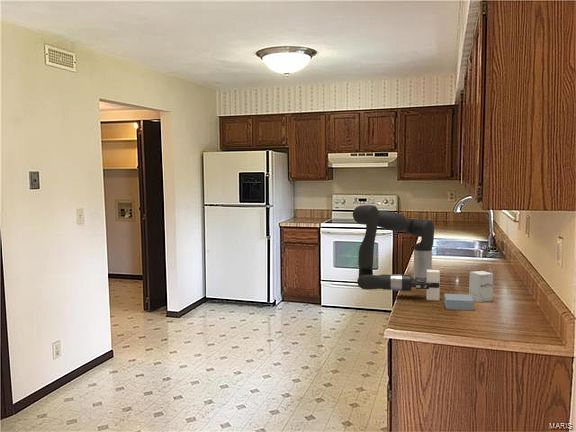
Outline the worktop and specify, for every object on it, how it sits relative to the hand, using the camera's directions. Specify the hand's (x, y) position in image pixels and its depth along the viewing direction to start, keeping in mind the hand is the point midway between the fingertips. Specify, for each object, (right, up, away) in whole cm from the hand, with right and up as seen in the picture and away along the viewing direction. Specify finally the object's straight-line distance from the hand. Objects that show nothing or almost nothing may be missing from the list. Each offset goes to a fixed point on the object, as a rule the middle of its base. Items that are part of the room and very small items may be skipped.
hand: (438, 283), depth 222 cm
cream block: (-2, -7, +1) cm, 7 cm away
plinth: (+5, -8, -12) cm, 15 cm away
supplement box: (+19, -7, -2) cm, 20 cm away
